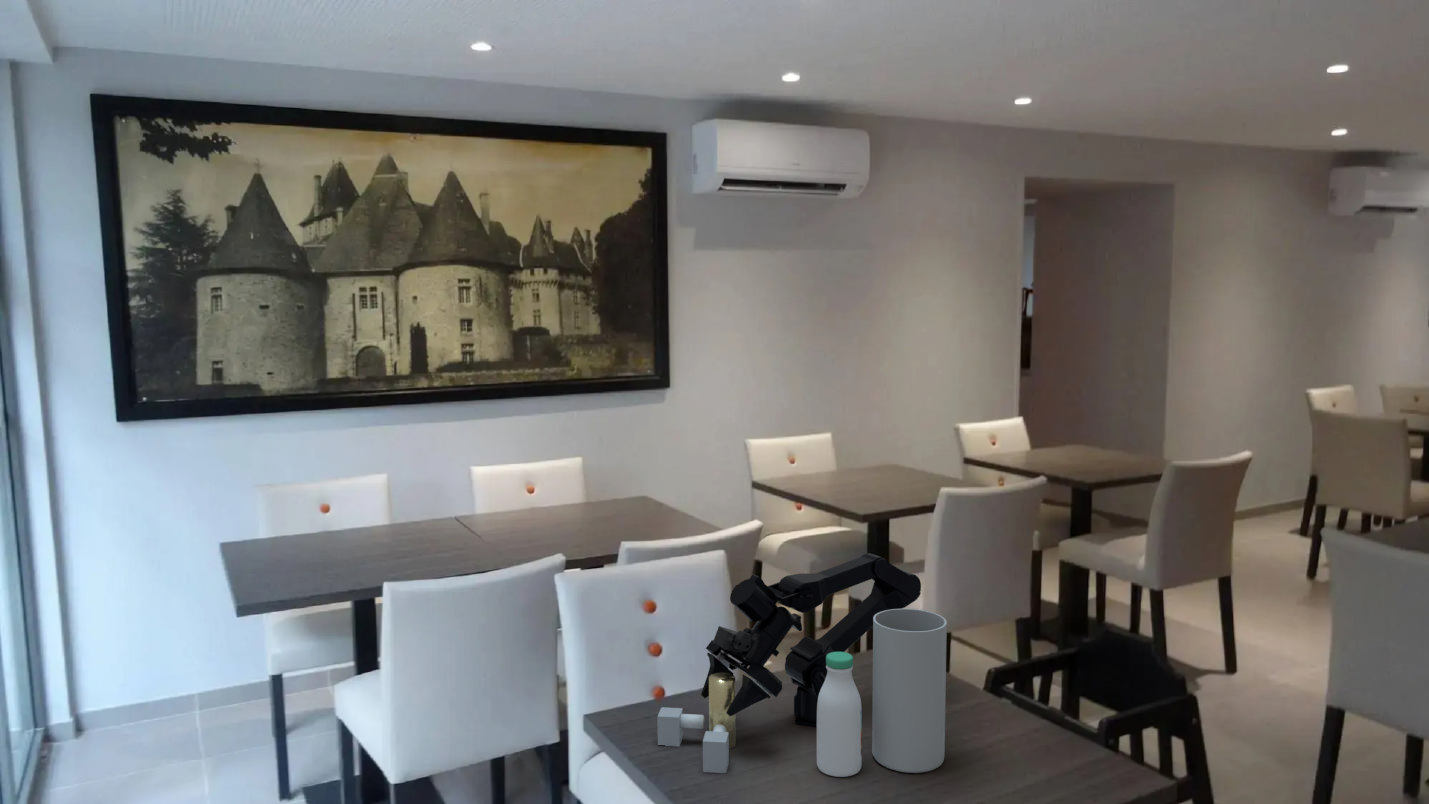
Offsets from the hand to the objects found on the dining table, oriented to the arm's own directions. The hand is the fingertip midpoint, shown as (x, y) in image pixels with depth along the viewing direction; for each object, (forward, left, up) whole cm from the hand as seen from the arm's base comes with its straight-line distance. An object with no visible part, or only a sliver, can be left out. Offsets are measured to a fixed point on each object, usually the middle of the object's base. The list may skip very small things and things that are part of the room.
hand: (715, 705), depth 176 cm
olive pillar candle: (-1, -1, -8) cm, 8 cm away
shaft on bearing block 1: (+6, 0, -8) cm, 10 cm away
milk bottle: (-23, +2, -8) cm, 24 cm away
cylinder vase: (-34, -5, -8) cm, 35 cm away
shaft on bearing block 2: (-2, +6, -8) cm, 10 cm away
